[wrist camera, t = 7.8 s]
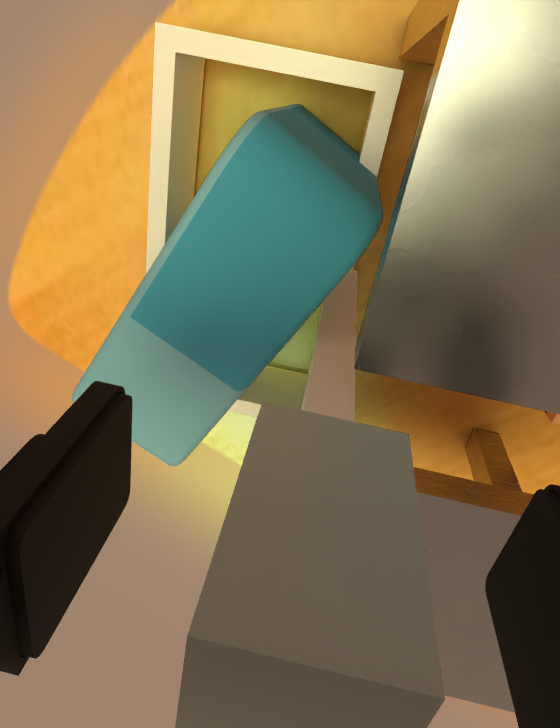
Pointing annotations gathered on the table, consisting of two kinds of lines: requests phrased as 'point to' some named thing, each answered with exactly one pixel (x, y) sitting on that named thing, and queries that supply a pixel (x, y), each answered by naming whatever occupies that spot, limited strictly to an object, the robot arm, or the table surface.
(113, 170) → the table surface
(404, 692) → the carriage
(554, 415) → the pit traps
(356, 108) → the table surface
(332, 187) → the data package
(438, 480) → the tunnel
